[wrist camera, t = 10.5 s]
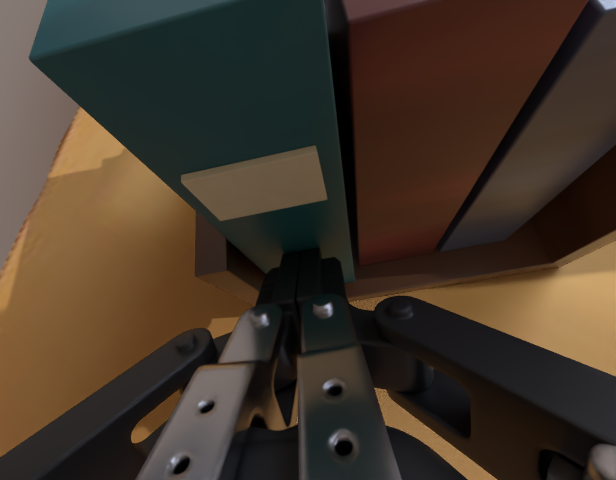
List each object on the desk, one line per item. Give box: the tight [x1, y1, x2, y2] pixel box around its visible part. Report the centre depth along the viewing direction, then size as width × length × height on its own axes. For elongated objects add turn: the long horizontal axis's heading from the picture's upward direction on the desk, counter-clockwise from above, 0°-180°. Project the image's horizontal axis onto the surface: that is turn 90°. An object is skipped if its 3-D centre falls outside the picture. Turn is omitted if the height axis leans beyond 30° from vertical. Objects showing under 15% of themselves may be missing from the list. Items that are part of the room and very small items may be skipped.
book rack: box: [195, 0, 616, 307], centre depth 14 cm, size 15×17×15 cm
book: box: [29, 0, 355, 283], centre depth 13 cm, size 12×4×15 cm, turn 8°
